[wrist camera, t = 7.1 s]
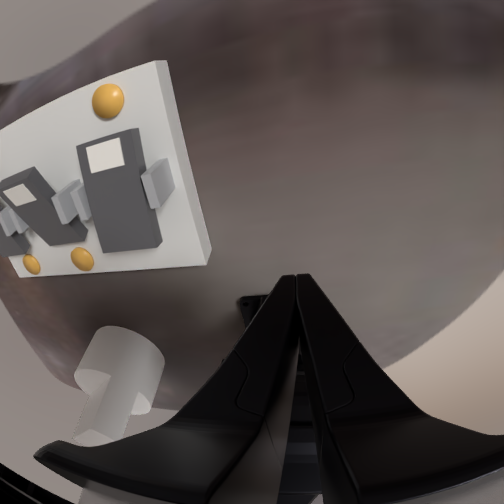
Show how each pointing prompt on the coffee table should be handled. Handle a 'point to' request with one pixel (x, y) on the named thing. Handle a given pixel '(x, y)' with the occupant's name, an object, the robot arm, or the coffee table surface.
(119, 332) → the cylinder with rectangular tab
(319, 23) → the coffee table surface
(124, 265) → the switch panel
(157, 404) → the coffee table surface
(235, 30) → the coffee table surface
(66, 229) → the switch
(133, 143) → the switch
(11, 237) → the switch
